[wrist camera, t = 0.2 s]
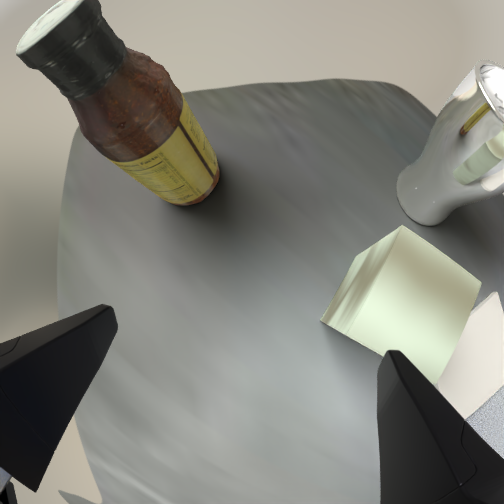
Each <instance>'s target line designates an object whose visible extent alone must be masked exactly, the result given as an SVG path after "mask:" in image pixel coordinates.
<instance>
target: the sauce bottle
mask: <svg viewBox="0 0 504 504" xmlns="http://www.w3.org/2000/svg"><path fill="white" fill-rule="evenodd" d="M16 55H17V56H18V57H19V58H20V59H21V60H22V61H23V62H24V63H25V64H26V65H27V66H28V67H29V68H32V69H37V70H39V71H41V72H42V73H43V74H44V75H45V76H46V77H47V78H48V79H49V80H51V82H52V83H53V84H55V85H56V86H57V88H59V90H60V92H61V93H62V95H64V96H65V97H67V98H68V101H69V103H70V105H71V107H72V109H73V111H74V113H75V115H76V117H77V120H78V122H79V126H80V129H81V132H82V134H83V135H84V137H85V138H86V139H87V140H88V141H89V142H90V143H91V144H92V145H93V146H94V147H95V148H96V149H97V150H98V151H99V152H100V153H101V154H102V155H103V156H105V157H106V158H108V159H109V160H110V161H111V162H113V163H114V164H115V165H117V166H118V167H119V168H121V169H122V170H124V171H125V172H126V173H127V174H129V175H130V176H131V177H133V178H134V179H135V180H137V181H138V182H140V183H141V184H142V185H144V186H145V187H147V188H148V189H149V190H151V191H152V192H154V193H155V194H156V195H157V196H159V197H160V198H162V199H163V200H165V201H167V202H170V203H172V204H174V205H191V204H195V203H199V202H201V201H202V200H203V199H205V198H206V197H207V196H208V195H209V194H210V193H211V191H212V190H213V189H214V187H215V186H216V184H217V183H218V179H219V167H218V162H217V158H216V154H215V152H214V150H213V148H212V147H211V145H210V143H209V141H208V139H207V138H206V136H205V134H204V133H203V131H202V129H201V127H200V125H199V124H198V122H197V120H196V118H195V117H194V115H193V113H192V111H191V109H190V107H189V106H188V104H187V102H186V100H185V99H184V97H183V95H182V93H181V92H180V90H179V89H178V88H177V87H176V86H175V85H174V83H173V81H172V80H171V78H170V75H169V73H168V72H167V71H166V70H165V68H164V67H163V66H162V65H160V64H158V63H156V62H154V61H153V60H152V59H151V58H150V57H149V56H147V55H145V54H143V53H140V52H137V51H134V50H132V49H129V48H127V47H125V45H124V43H123V41H122V40H121V39H119V38H118V37H117V36H116V35H115V33H114V32H113V30H112V29H111V28H110V26H109V25H108V23H107V22H106V20H105V19H104V18H103V16H102V12H101V4H100V3H99V1H98V0H61V1H60V2H58V3H57V4H55V5H54V6H53V7H52V8H50V9H49V10H48V11H47V12H46V13H45V14H43V15H42V16H41V17H40V18H39V19H38V20H37V21H35V22H34V24H33V25H32V26H31V27H30V28H29V29H28V30H27V32H26V33H25V34H24V35H23V37H22V38H21V40H20V42H19V44H18V46H17V49H16Z"/></svg>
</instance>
